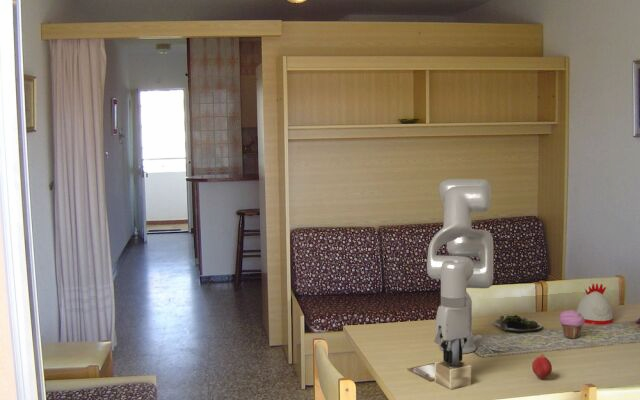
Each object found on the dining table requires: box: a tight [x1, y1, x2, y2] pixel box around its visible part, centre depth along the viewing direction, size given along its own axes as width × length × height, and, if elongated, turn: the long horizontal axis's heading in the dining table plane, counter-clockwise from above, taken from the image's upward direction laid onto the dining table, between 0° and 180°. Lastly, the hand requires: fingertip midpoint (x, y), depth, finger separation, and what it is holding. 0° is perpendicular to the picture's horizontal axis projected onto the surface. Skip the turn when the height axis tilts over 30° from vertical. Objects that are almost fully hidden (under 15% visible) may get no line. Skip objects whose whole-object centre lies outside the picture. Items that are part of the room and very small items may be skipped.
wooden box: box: [434, 360, 472, 391], centre depth 203 cm, size 8×8×6 cm
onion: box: [531, 353, 553, 380], centre depth 205 cm, size 6×6×8 cm
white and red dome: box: [576, 283, 614, 326], centre depth 269 cm, size 14×14×15 cm
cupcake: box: [558, 310, 585, 339], centre depth 247 cm, size 9×9×10 cm
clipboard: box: [407, 360, 442, 383], centre depth 213 cm, size 16×12×1 cm
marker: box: [447, 339, 459, 369], centre depth 202 cm, size 4×4×10 cm
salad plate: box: [493, 314, 544, 334], centre depth 262 cm, size 19×18×5 cm
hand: (452, 360), depth 202 cm, fingers closed on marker, 3 cm apart
